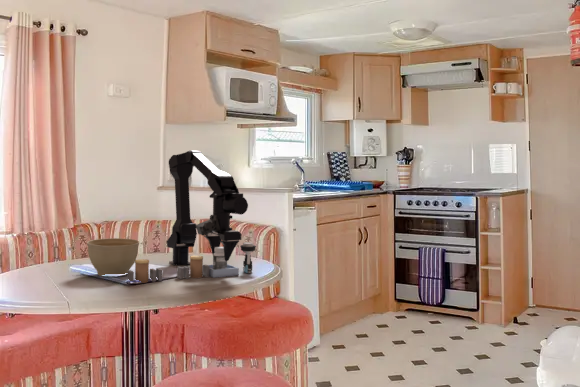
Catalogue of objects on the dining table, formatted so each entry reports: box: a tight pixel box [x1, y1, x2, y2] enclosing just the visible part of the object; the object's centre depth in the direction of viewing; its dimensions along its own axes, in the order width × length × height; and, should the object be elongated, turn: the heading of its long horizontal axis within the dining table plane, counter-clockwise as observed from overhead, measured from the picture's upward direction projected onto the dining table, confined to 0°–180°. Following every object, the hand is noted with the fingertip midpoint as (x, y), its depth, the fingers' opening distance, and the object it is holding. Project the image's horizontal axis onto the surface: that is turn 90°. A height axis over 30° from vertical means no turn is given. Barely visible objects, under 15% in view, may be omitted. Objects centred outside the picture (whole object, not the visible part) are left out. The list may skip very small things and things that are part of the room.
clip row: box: [127, 264, 210, 282], centre depth 182 cm, size 3×26×4 cm, turn 122°
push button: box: [240, 241, 257, 274], centre depth 197 cm, size 7×5×10 cm
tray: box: [202, 263, 240, 279], centre depth 192 cm, size 9×9×2 cm
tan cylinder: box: [189, 255, 204, 279], centre depth 187 cm, size 4×4×7 cm
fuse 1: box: [134, 258, 150, 284], centre depth 177 cm, size 4×4×7 cm
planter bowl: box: [86, 237, 140, 277], centre depth 186 cm, size 16×16×11 cm
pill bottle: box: [212, 246, 228, 270], centre depth 192 cm, size 5×5×8 cm
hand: (220, 258), depth 192 cm, fingers open, 9 cm apart
